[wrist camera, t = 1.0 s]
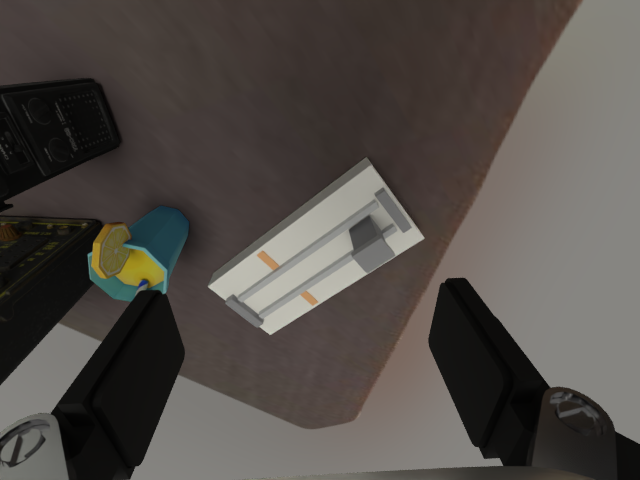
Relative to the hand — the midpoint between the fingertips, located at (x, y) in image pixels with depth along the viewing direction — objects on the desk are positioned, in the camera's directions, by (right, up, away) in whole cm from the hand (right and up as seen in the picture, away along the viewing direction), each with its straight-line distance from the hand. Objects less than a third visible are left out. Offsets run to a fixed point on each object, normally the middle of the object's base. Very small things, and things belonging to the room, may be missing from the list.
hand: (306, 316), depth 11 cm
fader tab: (+6, +4, +26) cm, 27 cm away
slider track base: (-1, +1, +32) cm, 32 cm away
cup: (-19, +4, +29) cm, 35 cm away
